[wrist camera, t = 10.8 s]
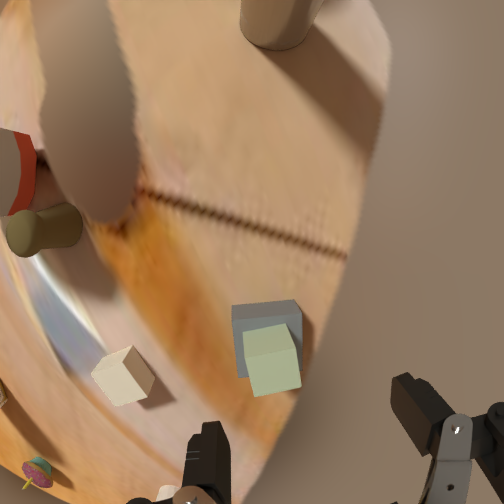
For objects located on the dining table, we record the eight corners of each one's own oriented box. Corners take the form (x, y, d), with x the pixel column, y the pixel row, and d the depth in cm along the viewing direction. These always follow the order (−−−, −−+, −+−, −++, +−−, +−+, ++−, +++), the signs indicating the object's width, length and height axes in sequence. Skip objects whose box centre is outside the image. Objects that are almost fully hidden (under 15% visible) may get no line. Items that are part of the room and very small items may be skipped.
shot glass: (151, 490, 44) (146, 513, 37) (166, 479, 44) (162, 505, 37) (178, 502, 45) (176, 525, 38) (195, 492, 45) (193, 517, 38)
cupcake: (24, 447, 41) (4, 477, 30) (50, 457, 42) (31, 490, 30) (38, 469, 43) (21, 498, 31) (63, 478, 44) (48, 510, 32)
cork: (90, 229, 35) (44, 242, 24) (62, 255, 35) (15, 274, 24) (68, 193, 34) (19, 194, 23) (42, 220, 34) (-8, 229, 23)
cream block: (103, 357, 38) (90, 374, 33) (133, 344, 38) (122, 362, 33) (125, 388, 39) (115, 407, 34) (155, 377, 39) (147, 397, 34)
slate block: (231, 304, 38) (231, 319, 33) (293, 298, 38) (302, 312, 33) (237, 358, 39) (238, 377, 34) (294, 352, 40) (302, 370, 35)
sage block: (242, 332, 33) (244, 358, 27) (285, 323, 33) (295, 347, 28) (251, 367, 34) (254, 397, 28) (291, 359, 34) (301, 386, 28)
